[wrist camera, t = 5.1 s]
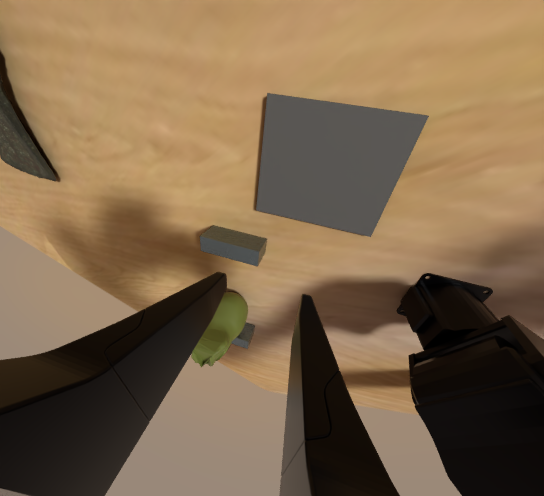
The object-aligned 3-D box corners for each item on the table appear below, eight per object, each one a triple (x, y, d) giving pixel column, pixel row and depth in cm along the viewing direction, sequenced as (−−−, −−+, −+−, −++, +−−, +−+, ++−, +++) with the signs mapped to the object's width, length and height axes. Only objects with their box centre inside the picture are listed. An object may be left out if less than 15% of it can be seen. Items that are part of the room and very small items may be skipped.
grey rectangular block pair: (267, 238, 23) (259, 251, 20) (253, 332, 33) (247, 348, 31) (213, 225, 24) (199, 236, 21) (216, 320, 34) (207, 335, 32)
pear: (220, 305, 32) (181, 366, 24) (219, 281, 29) (174, 341, 21) (252, 314, 31) (223, 381, 23) (254, 290, 28) (222, 357, 20)
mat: (425, 116, 14) (428, 115, 14) (369, 234, 20) (370, 236, 19) (269, 94, 16) (267, 93, 15) (257, 208, 21) (256, 210, 21)
